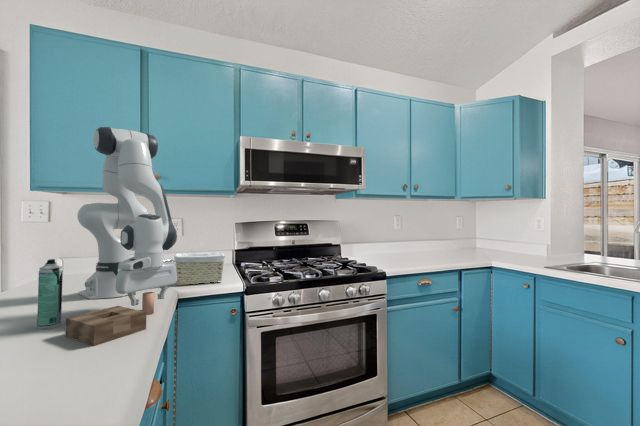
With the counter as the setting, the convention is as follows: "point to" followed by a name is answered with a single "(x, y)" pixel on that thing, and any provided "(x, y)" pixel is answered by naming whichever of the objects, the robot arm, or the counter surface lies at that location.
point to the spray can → (49, 295)
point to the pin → (148, 302)
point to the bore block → (105, 324)
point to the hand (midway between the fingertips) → (148, 301)
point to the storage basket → (199, 267)
